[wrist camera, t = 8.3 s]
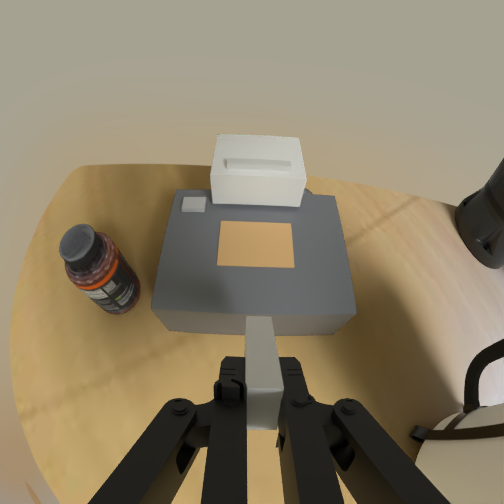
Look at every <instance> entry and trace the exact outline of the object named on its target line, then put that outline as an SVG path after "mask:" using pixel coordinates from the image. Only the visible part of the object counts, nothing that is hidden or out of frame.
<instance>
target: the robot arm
mask: <svg viewBox="0 0 504 504" xmlns="http://www.w3.org/2000/svg"><path fill="white" fill-rule="evenodd" d="M455 219H456V224H457V227H458V230H459V233H460V235H461V237H462V239H463V241H464V242H465V244H466V245H467V247H468V248H469V250H470V251H471V252H472V254H473V255H474V256H475V257H476V258H477V259H478V260H479V261H480V262H481V263H483V264H484V265H486V266H487V267H489V268H492V269H498V268H500V267H501V266H502V265H504V158H503V160H502V162H501V163H500V164H499V166H498V167H497V169H496V170H495V172H494V173H493V175H492V176H491V177H490V179H489V180H488V182H487V183H486V184H485V186H484V187H483V188H481V189H480V190H478V191H476V192H475V193H473V194H472V195H470V196H468V197H467V198H465V199H464V200H463V201H462V202H461V203H460V205H459V206H458V207H457V209H456V212H455ZM277 426H278V428H279V433H278V438H277V443H276V447H279V456H280V465H281V474H282V484H283V493H284V502H285V504H344V500H343V496H342V493H341V489H340V485H339V482H338V478H337V474H336V472H337V473H338V475H339V476H340V478H341V479H342V481H343V483H344V484H345V486H346V487H347V489H348V490H349V492H350V493H351V495H352V496H353V498H354V499H355V501H356V502H357V504H451V503H450V502H449V501H448V500H447V499H446V498H445V497H444V496H443V494H442V493H441V492H440V491H439V490H438V489H437V488H436V487H435V486H434V485H433V484H432V482H431V481H430V480H429V479H428V478H427V477H426V476H425V475H424V474H423V473H422V472H421V470H420V469H419V468H418V467H417V466H416V465H415V464H414V463H413V462H412V460H411V459H410V458H409V457H408V456H407V455H406V454H405V453H404V452H403V450H402V449H401V448H400V447H399V446H398V445H397V444H396V443H395V441H394V440H393V439H392V438H391V437H390V436H389V435H388V434H387V432H386V431H385V430H384V429H383V428H382V427H381V426H380V425H379V423H378V422H377V421H376V420H375V419H374V418H373V417H372V415H371V414H370V413H369V412H368V411H367V410H366V409H365V407H364V406H363V405H362V404H361V403H360V402H358V401H356V400H354V399H349V398H346V399H341V400H339V401H337V402H336V403H335V404H334V405H327V404H322V403H319V402H317V401H315V399H314V397H313V396H311V395H310V394H309V392H308V389H307V385H306V382H305V378H304V375H303V371H302V368H301V364H300V362H299V361H298V360H297V359H296V358H295V357H278V351H277V346H276V340H275V334H274V329H273V323H272V318H271V317H266V316H246V334H245V357H230V356H226V357H225V358H224V359H223V360H222V361H221V367H220V375H219V380H218V381H216V382H215V384H214V399H213V400H212V401H210V402H208V403H205V404H199V405H194V404H193V403H192V402H191V401H189V400H187V399H183V398H176V399H172V400H170V401H168V402H167V403H166V404H165V405H164V406H163V407H162V409H161V410H160V411H159V413H158V414H157V415H156V417H155V418H154V419H153V421H152V422H151V423H150V425H149V426H148V427H147V428H146V430H145V431H144V432H143V434H142V435H141V436H140V438H139V439H138V440H137V442H136V443H135V444H134V445H133V447H132V448H131V449H130V451H129V452H128V453H127V455H126V456H125V457H124V458H123V460H122V461H121V462H120V464H119V465H118V466H117V467H116V469H115V470H114V471H113V472H112V474H111V475H110V476H109V478H108V479H107V480H106V481H105V483H104V484H103V485H102V486H101V488H100V489H99V490H98V491H97V493H96V494H95V495H94V496H93V498H92V499H91V500H90V501H89V503H88V504H171V502H172V500H173V499H174V497H175V495H176V493H177V491H178V490H179V488H180V486H181V484H182V482H183V480H184V479H185V477H186V475H187V473H188V471H189V469H190V467H191V465H192V463H193V462H194V460H195V458H196V456H197V454H198V452H199V450H200V448H202V447H208V449H207V457H206V465H205V473H204V481H203V489H202V498H201V504H247V430H277ZM335 470H336V471H335Z"/></svg>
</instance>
